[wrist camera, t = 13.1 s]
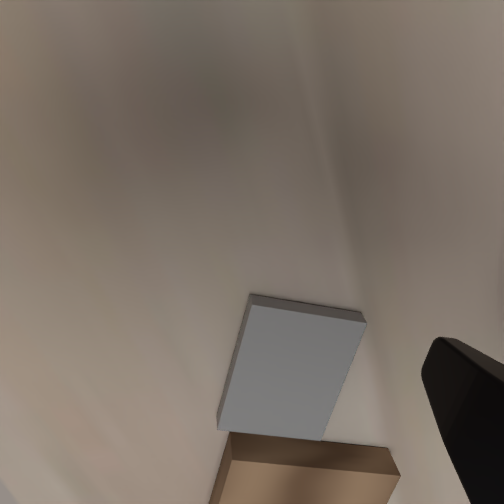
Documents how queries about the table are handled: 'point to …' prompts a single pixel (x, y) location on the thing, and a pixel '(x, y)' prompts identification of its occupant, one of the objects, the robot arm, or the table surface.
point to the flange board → (302, 472)
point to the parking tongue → (288, 368)
